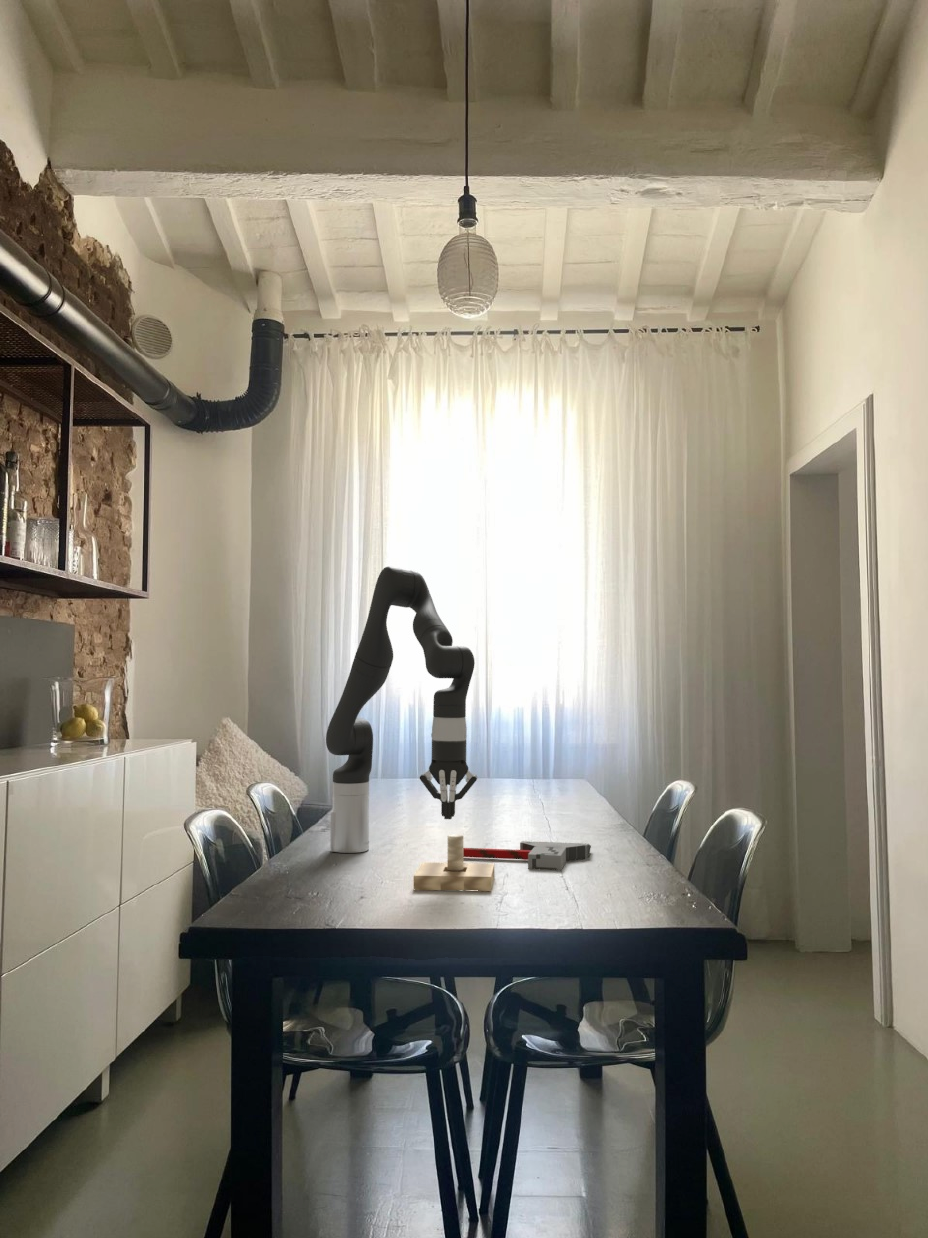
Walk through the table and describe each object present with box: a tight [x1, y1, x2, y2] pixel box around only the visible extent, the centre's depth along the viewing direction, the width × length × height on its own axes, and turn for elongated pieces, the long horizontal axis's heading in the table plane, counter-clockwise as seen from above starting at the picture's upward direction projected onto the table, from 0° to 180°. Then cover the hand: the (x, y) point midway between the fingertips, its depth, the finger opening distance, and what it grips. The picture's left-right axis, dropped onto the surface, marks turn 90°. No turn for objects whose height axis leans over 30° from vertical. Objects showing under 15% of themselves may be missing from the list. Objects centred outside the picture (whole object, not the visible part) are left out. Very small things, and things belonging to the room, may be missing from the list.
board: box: [413, 861, 496, 892], centre depth 204 cm, size 16×14×3 cm
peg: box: [447, 834, 465, 872], centre depth 204 cm, size 4×4×10 cm
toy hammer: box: [463, 840, 592, 871], centre depth 232 cm, size 24×4×30 cm
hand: (448, 818), depth 207 cm, fingers closed
